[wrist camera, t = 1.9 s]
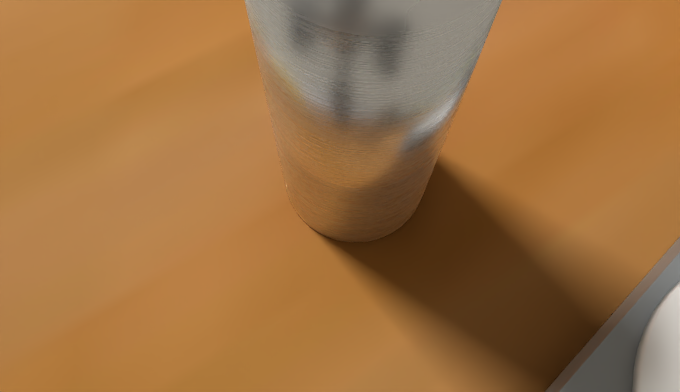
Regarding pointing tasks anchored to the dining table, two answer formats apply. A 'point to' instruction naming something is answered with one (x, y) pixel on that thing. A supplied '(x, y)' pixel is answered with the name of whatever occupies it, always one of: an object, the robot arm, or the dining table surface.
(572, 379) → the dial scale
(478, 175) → the dining table surface
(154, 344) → the dining table surface
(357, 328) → the dining table surface
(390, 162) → the shiny silver cylinder
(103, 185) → the dining table surface
